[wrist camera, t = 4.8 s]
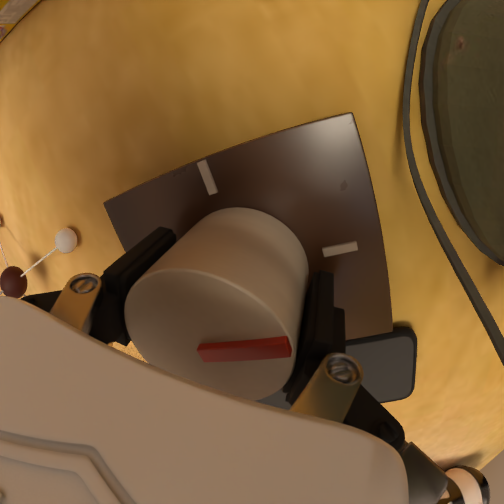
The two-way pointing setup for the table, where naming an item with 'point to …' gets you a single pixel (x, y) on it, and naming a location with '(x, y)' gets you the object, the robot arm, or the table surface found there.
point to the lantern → (463, 129)
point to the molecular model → (15, 278)
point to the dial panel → (284, 207)
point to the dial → (224, 304)
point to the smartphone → (377, 366)
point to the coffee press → (465, 487)
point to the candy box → (13, 13)
